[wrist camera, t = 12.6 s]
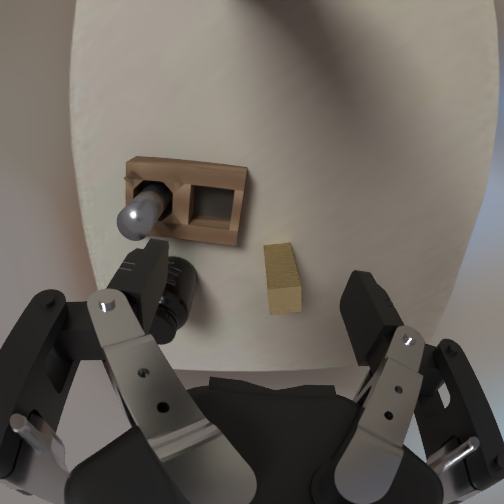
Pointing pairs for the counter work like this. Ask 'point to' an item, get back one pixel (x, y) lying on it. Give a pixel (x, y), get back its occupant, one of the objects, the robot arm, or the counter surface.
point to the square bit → (282, 279)
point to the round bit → (144, 211)
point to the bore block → (192, 197)
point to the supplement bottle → (174, 300)
